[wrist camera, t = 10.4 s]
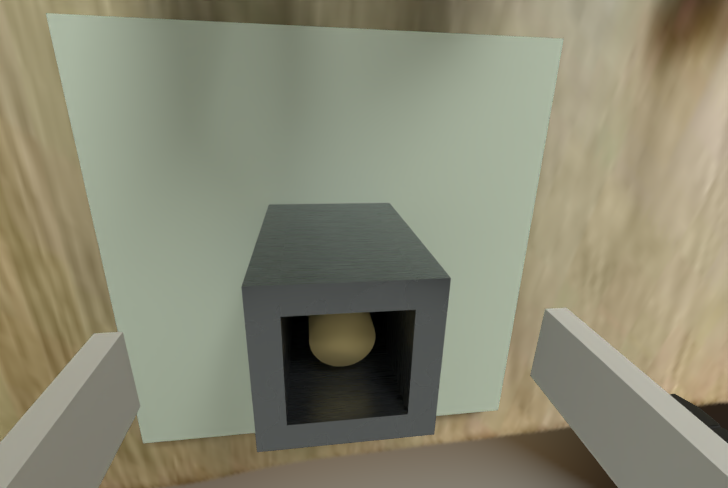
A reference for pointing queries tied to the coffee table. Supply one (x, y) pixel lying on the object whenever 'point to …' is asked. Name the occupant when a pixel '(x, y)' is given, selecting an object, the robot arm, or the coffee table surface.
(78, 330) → the coffee table surface
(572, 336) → the robot arm
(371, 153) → the post board
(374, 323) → the square collar
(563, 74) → the coffee table surface
